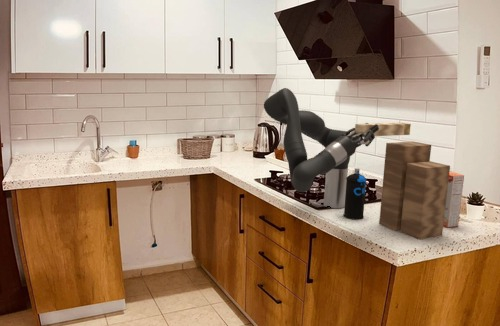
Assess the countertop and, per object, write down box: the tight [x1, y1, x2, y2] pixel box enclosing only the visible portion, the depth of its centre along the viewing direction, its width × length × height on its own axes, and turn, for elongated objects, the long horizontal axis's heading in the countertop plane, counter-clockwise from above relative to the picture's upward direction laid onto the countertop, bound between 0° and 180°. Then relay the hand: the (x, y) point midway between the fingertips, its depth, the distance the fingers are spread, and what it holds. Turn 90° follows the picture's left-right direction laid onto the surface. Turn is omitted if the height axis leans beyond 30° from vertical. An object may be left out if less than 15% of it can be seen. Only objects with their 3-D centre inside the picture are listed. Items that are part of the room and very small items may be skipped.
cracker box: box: [443, 170, 465, 228], centre depth 188 cm, size 14×6×21 cm, turn 21°
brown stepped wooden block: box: [378, 141, 451, 240], centre depth 177 cm, size 14×19×32 cm
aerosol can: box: [343, 167, 368, 220], centre depth 192 cm, size 8×8×20 cm
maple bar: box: [354, 122, 412, 137], centre depth 170 cm, size 23×4×4 cm, turn 119°
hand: (372, 125), depth 168 cm, fingers closed on maple bar, 4 cm apart
